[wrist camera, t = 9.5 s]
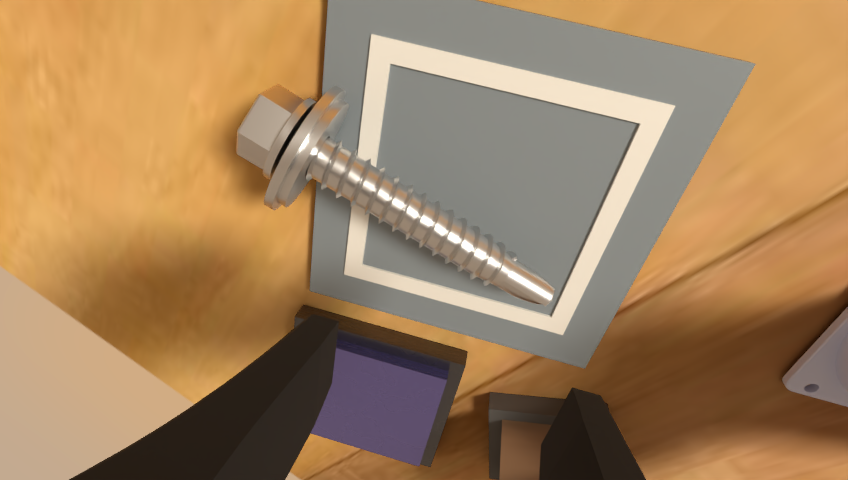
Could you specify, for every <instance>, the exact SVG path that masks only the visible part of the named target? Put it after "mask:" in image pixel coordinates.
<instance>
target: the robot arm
mask: <svg viewBox="0 0 848 480" xmlns="http://www.w3.org/2000/svg"><path fill="white" fill-rule="evenodd" d="M338 325H339V321H336V320H332V319H329V318H325V317H322V316H318V315H315V314H312V315H310V316H308V317H307V318H306V319H305V320H303V321H302V322H301V323H300V324H299V325H298V326H297V327H295V328H294V329H293V330H292V331H291V332H290V333H288V334H287V335H286V336H285V337H284V338H282V339H281V340H280V341H279V342H278V343H276V344H275V345H274V346H273V347H271V348H270V349H269V350H268V351H266V352H265V353H264V354H263V355H261V356H260V357H259V358H258V359H256V360H255V361H254V362H252V363H251V364H250V365H248V366H247V367H246V368H245V369H243V370H242V371H241V372H239V373H238V374H237V375H235V376H234V377H233V378H231V379H230V380H229V381H227V382H226V383H225V384H223V385H222V386H220V387H219V388H217V389H216V390H215V391H213V392H212V393H210V394H209V395H207V396H206V397H204V398H203V399H202V400H200V401H199V402H197V403H196V404H194V405H193V406H192V407H190V408H189V409H187V410H186V411H184V412H183V413H181V414H180V415H178V416H177V417H175V418H173V419H172V420H170V421H169V422H167V423H166V424H164V425H163V426H161V427H159V428H158V429H156V430H155V431H153V432H151V433H150V434H148V435H147V436H145V437H143V438H141V439H140V440H138V441H137V442H135V443H133V444H131V445H130V446H128V447H126V448H125V449H123V450H121V451H120V452H118V453H116V454H114V455H113V456H111V457H109V458H107V459H105V460H104V461H102V462H100V463H98V464H96V465H95V466H93V467H91V468H89V469H88V470H86V471H84V472H82V473H80V474H79V475H77V476H75V477H73V478H71V479H69V480H285V479H286V477H287V475H288V473H289V472H290V470H291V468H292V466H293V464H294V462H295V461H296V459H297V457H298V455H299V453H300V451H301V450H302V448H303V446H304V444H305V442H306V440H307V438H308V437H309V435H310V433H311V431H312V429H313V427H314V425H315V423H316V421H317V418H318V416H319V413H320V411H321V409H322V406H323V404H324V401H325V399H326V397H327V394H328V392H329V389H330V387H331V384H332V379H333V370H334V361H335V352H336V343H337V334H338ZM782 382H783V384H784V385H785V387H786V388H787V389H788V390H790V391H792V392H795V393H799V394H803V395H806V396H810V397H813V398H817V399H821V400H824V401H828V402H831V403H835V404H839V405H842V406H846V407H848V307H847V308H846V309H845V310H844V311H843V312H842V313H841V315H840V316H839V317H838V318H837V319H836V320H835V321H834V322H833V323H832V324H831V325H830V326H829V328H828V329H827V330H826V331H825V332H824V333H823V334H822V335H821V336H820V337H819V338H818V339H817V341H816V342H815V343H814V344H813V345H812V346H811V347H810V348H809V349H808V350H807V351H806V352H805V353H804V355H803V356H802V357H801V358H800V359H799V360H798V361H797V362H796V363H795V364H794V365H793V366H792V368H791V369H790V370H789V371H788V372H787V373H786V374H785V375H784V377H783V378H782ZM809 384H810V385H809ZM539 480H646V479H645V477H644V475H643V473H642V471H641V470H640V468H639V466H638V464H637V462H636V460H635V459H634V457H633V455H632V453H631V451H630V449H629V447H628V446H627V444H626V442H625V440H624V438H623V436H622V434H621V433H620V431H619V429H618V427H617V425H616V423H615V421H614V419H613V417H612V416H611V414H610V412H609V410H608V408H607V406H606V404H605V403H604V401H603V399H602V397H601V396H600V395H596V394H593V393H589V392H586V391H582V390H579V389H575V388H572V389H571V391H570V393H569V395H568V396H567V398H566V400H565V402H564V404H563V405H562V407H561V409H560V411H559V413H558V414H557V416H556V418H555V420H554V422H553V424H552V425H551V427H550V429H549V431H548V433H547V434H546V436H545V438H544V440H543V442H542V443H541V452H540V470H539Z"/></svg>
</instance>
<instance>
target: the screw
mask: <svg viewBox="0 0 848 480" xmlns="http://www.w3.org/2000/svg"><path fill="white" fill-rule="evenodd" d="M345 96H346V91H344V90H343V89H341V88H340V87H338V86H336V85H335V86H333V87H331V88H330V89H329V90H328V91H327V92H326V93H325V94H324V95H323V96H322V98H321V99H320V100H319V101H318V102H316V101H314V100H313V99H311V98H308V99H306V100H303V99H301V98H300V97H298V96H296V95H295V94H293V93H292V92H290V91H289V90H287V89H286V88H284V87H282V86H281V85H279V84H277V85H275V86H273V87H271V88H270V89H268V90H266V91H264V92H262V93H260V94H259V95H258V96H257V98H256V100H255V101H254V103H253V105H252V106H251V108H250V110H249V111H248V113H247V115H246V116H245V118H244V120H243V121H242V123H241V125H240V126H239V128H238V130H237V145H236V153H237V155H239V156H241V157H242V158H244V159H246V160H248V161H249V162H251V163H253V164H254V165H256V166H258V167H259V168H261V169H263V176H264V177H265V178H267V179H269V180H271V181H270V183H269V186H268V189H267V191H266V194H265V199H264V205H266V206H268V207H269V208H271V209H273V210H276V209H278V208H279V207H280V206H281V205H283V206H285V207H288V206H290V205H291V204H292V203H293V202H294V200H295V199H296V198H297V197H298V196H299V194H300V193H301V192H302V190H303V189H304V187H305V186H306V185H307V183H308V182H309V180H311V179H315V180H316V181H318V182H320V183H321V189H322V190H323V189H325V188H327V187H328V188H330V189H331V190H333V191H335V192H336V198H338V197H340V196H343V197H345V198H346V199H348V200H350V203H351V205H350V207H352V206H353V205H358V206H359V207H361V208H363V209H364V210H365V215H366V214H368V213H371V214H373V215H374V216H376V217H378V218H379V223H381V222H383V221H384V222H386V223H388V224H389V225H391V226H392V232H393V231H395V230H399V231H401V232H402V233H404V234H406V240H407V239H409V238H412V239H414V240H416V241H417V242H419V248H421V247H423V246H426V247H427V248H429V249H431V250H432V256H434V255H436V254H439V255H441V256H442V257H444V258H445V264H447V263H449V262H452V263H454V264H455V265H457V266H458V272H460V271H462V270H463V269H464V270H465V271H467V272H469V273H470V279H474V278H476V277H478V278H480V279H482V280H484V282H483V284H484V286H487V285H488V284H490V283H491V284H493V285H495V286H497V287H499V288H500V289H502V290H504V291H505V292H507V293H509V294H510V295H512V296H514V297H517V298H519V299H521V300H524V301H527V302H530V303H534V304H542V305H544V306H546V305H547V304H549V303H550V302H551V301H552V299H553V295H554V290H555V289H554V288H553V287H552V286H551V285H550V284H549V283H548V282H547V281H546V280H545V279H544V278H543V277H541V276H540V275H539V274H538V273H536V272H535V271H534V270H532V269H531V268H529V267H528V266H526V265H525V264H523V263H521V262H520V261H518V260H517V256H516V254H515V253H514V252H512V251H509V252H506V251H505V245H504V244H503V243H502V242H497V243H495V242H493V237H492V235H491V234H484V235H482V234H481V233H480V228H479V227H478V226H472V227H470V226H468V225H467V220H466V218H460V219H457V218H455V217H454V212H453V210H448V211H444V210H443V209H441V208H440V202H439V201H437V202H435V203H431V202H430V201H428V200H427V194H426V193H423V194H421V195H419V194H417V193H416V192H414V191H413V185H409V186H407V187H406V186H404V185H403V184H401V183H400V182H399V176H397V177H395V178H392V177H390V176H389V175H387V174H385V167H384V168H382V169H380V170H379V169H377V168H376V167H374V166H373V165H371V158H370V159H368V160H366V161H365V160H363V159H362V158H360V157H358V156H357V155H356V150H354V151H352V152H350V151H349V150H347V149H346V148H344V147H343V146H342V140H341V141H339V142H337V143H336V142H335V141H334V139H335V137H336V135H337V133H338V131H339V129H340V127H341V125H342V123H343V121H344V119H345V116H346V114H347V111H348V108H349V104H348V103H346V102H345V101H344V100H345Z"/></svg>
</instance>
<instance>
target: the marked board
mask: <svg viewBox="0 0 848 480" xmlns="http://www.w3.org/2000/svg"><path fill="white" fill-rule="evenodd" d="M754 66H755V64H754V63H751V62H747V61H743V60H738V59H734V58H729V57H725V56H721V55H716V54H712V53H707V52H703V51H698V50H694V49H690V48H685V47H681V46H676V45H672V44H668V43H663V42H659V41H654V40H650V39H645V38H641V37H637V36H632V35H628V34H623V33H619V32H615V31H610V30H606V29H601V28H597V27H593V26H588V25H584V24H579V23H575V22H570V21H566V20H562V19H557V18H553V17H548V16H544V15H540V14H535V13H531V12H526V11H522V10H517V9H513V8H509V7H504V6H500V5H495V4H491V3H487V2H482V1H478V0H328V9H327V25H326V40H325V56H324V72H323V88H322V96H323V95H324V94H325V93H326V92H327V91H328V90H329V89H330V88H331V87H333V86H335V85H336V86H338V87H340V88H341V89H343V90H344V91H346V96H345V100H344V101H345V102H346V103H348V104H349V108H348V111H347V114H346V116H345V119H344V121H343V123H342V125H341V127H340V129H339V131H338V133H337V135H336V137H335V139H334V141H335V142H336V143H337V142H339V141H341V140H342V146H343V147H344V148H346V149H347V150H349V151H350V152H352V151H354V150H356V155H357V156H358V157H360V158H362V159H363V160H365V161H366V160H368V159H370V158H371V165H373V166H374V167H376V168H377V169H379V170H380V169H382V168H384V167H385V174H387V175H389V176H390V177H392V178H395V177H397V176H399V182H400V183H401V184H403V185H404V186H406V187H407V186H409V185H413V191H414V192H416V193H417V194H419V195H421V194H423V193H426V194H427V200H428V201H430V202H431V203H435V202H437V201H439V202H440V208H441V209H443V210H444V211H448V210H453V212H454V217H455V218H457V219H460V218H466V220H467V225H468V226H470V227H472V226H478V227H479V228H480V233H481V234H482V235H484V234H491V235H492V237H493V242H495V243H497V242H502V243H503V244H504V245H505V251H506V252H509V251H512V252H514V253H515V254H516V256H517V260H518V261H520V262H521V263H523V264H525V265H526V266H528V267H529V268H531V269H532V270H534V271H535V272H536V273H538V274H539V275H540V276H541V277H543V278H544V279H545V280H546V281H547V282H548V283H549V284H550V285H551V286H552V287H553V288H554V289H555V290H554V295H553V299H552V301H551V302H550V303H549V304H547V305H546V306H544V305H542V304H534V303H530V302H527V301H524V300H521V299H519V298H517V297H514V296H512V295H510V294H509V293H507V292H505V291H504V290H502V289H500V288H499V287H497V286H495V285H493V284H491V283H490V284H488V285H487V286H484V284H483V282H484V280H482V279H480V278H478V277H476V278H474V279H470V273H469V272H467V271H465V270H464V269H463V270H462V271H460V272H458V266H457V265H455V264H454V263H452V262H449V263H447V264H445V258H444V257H442V256H441V255H439V254H436V255H434V256H432V250H431V249H429V248H427V247H426V246H423V247H421V248H419V242H417V241H416V240H414V239H412V238H409V239H407V240H406V234H404V233H402V232H401V231H399V230H395V231H393V232H392V226H391V225H389V224H388V223H386V222H384V221H383V222H381V223H379V218H378V217H376V216H374V215H373V214H371V213H368V214H366V215H365V210H364V209H363V208H361V207H359V206H358V205H353V206H352V207H350V205H351V203H350V200H348V199H346V198H345V197H343V196H340V197H338V198H336V192H335V191H333V190H331V189H330V188H328V187H327V188H325V189H323V190H322V189H321V183H320V182H318V181H317V182H316V198H315V214H314V229H313V245H312V261H311V277H310V291H311V292H315V293H319V294H322V295H326V296H329V297H333V298H336V299H340V300H343V301H347V302H350V303H354V304H358V305H361V306H365V307H368V308H372V309H375V310H379V311H382V312H386V313H389V314H393V315H397V316H400V317H404V318H407V319H411V320H414V321H418V322H421V323H425V324H428V325H432V326H436V327H439V328H443V329H446V330H450V331H453V332H457V333H460V334H464V335H467V336H471V337H474V338H478V339H482V340H485V341H489V342H492V343H496V344H499V345H503V346H506V347H510V348H513V349H517V350H521V351H524V352H528V353H531V354H535V355H538V356H542V357H545V358H549V359H552V360H556V361H560V362H563V363H567V364H570V365H574V366H577V367H581V368H584V369H585V368H586V366H587V364H588V362H589V361H590V359H591V357H592V355H593V353H594V352H595V350H596V348H597V346H598V344H599V343H600V341H601V339H602V337H603V336H604V334H605V332H606V330H607V328H608V327H609V325H610V323H611V321H612V319H613V318H614V316H615V314H616V312H617V311H618V309H619V307H620V305H621V303H622V302H623V300H624V298H625V296H626V294H627V293H628V291H629V289H630V287H631V286H632V284H633V282H634V280H635V278H636V277H637V275H638V273H639V271H640V269H641V268H642V266H643V264H644V262H645V261H646V259H647V257H648V255H649V253H650V252H651V250H652V248H653V246H654V244H655V243H656V241H657V239H658V237H659V236H660V234H661V232H662V230H663V228H664V227H665V225H666V223H667V221H668V219H669V218H670V216H671V214H672V212H673V210H674V209H675V207H676V205H677V203H678V202H679V200H680V198H681V196H682V194H683V193H684V191H685V189H686V187H687V185H688V184H689V182H690V180H691V178H692V177H693V175H694V173H695V171H696V169H697V168H698V166H699V164H700V162H701V160H702V159H703V157H704V155H705V153H706V152H707V150H708V148H709V146H710V144H711V143H712V141H713V139H714V137H715V135H716V134H717V132H718V130H719V128H720V127H721V125H722V123H723V121H724V119H725V118H726V116H727V114H728V112H729V110H730V109H731V107H732V105H733V103H734V102H735V100H736V98H737V96H738V94H739V93H740V91H741V89H742V87H743V85H744V84H745V82H746V80H747V78H748V77H749V75H750V73H751V71H752V69H753V68H754Z"/></svg>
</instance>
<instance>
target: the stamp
mask: <svg viewBox="0 0 848 480" xmlns="http://www.w3.org/2000/svg"><path fill="white" fill-rule="evenodd" d="M565 400H566V399H557V398H546V397H536V396H525V395H515V394H504V393H494V392H490V398H489V478H490V479H497V480H539V470H540V452H541V443H542V442H543V440H544V438H545V436H546V434H547V433H548V431H549V429H550V427H551V425H552V424H553V422H554V420H555V418H556V416H557V414H558V413H559V411H560V409H561V407H562V405H563V404H564V402H565ZM605 404H606V406H607V408H608V404H607V403H605ZM608 410H609V409H608Z"/></svg>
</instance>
